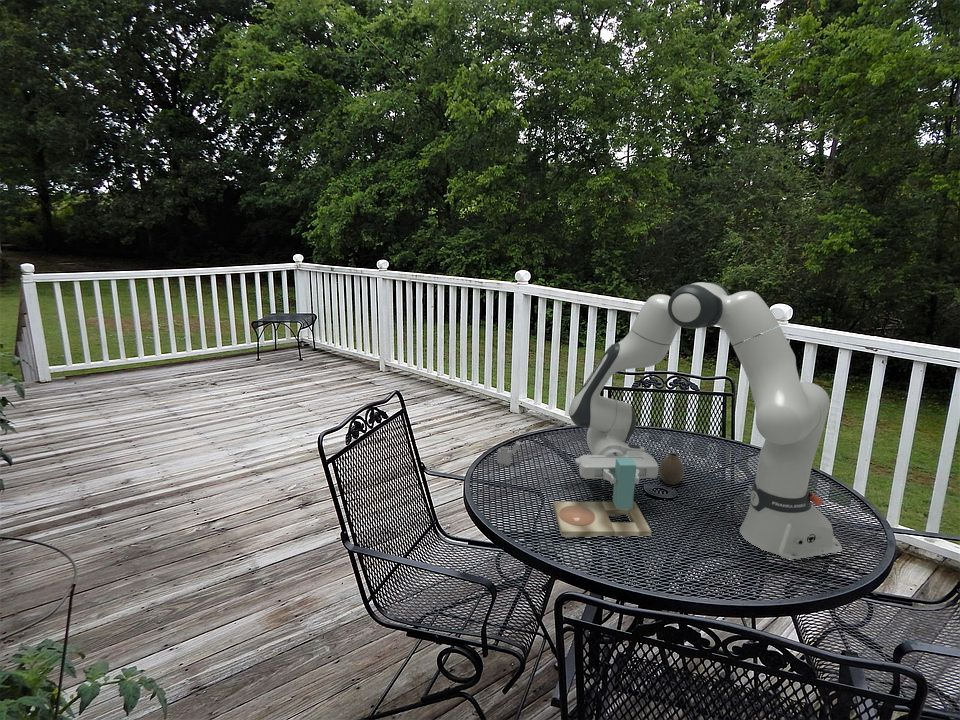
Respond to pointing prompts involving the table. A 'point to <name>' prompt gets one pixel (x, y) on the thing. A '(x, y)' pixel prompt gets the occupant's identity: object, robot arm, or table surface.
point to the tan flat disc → (577, 515)
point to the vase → (671, 469)
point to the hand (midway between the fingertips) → (625, 481)
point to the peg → (624, 483)
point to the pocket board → (603, 521)
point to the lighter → (506, 454)
